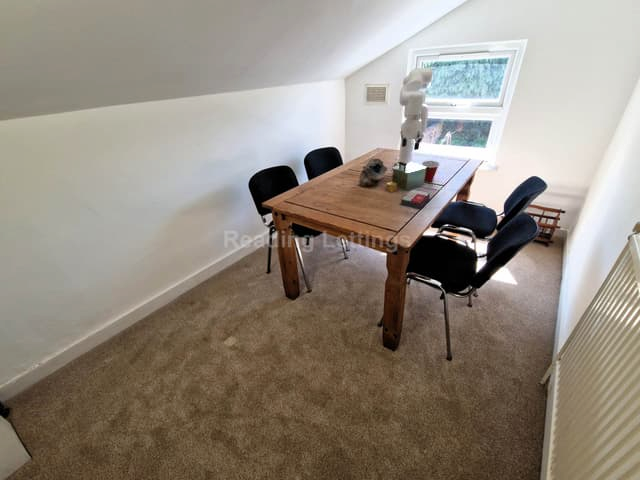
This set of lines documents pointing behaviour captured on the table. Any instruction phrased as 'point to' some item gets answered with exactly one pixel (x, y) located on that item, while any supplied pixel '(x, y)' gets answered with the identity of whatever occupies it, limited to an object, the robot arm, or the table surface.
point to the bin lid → (408, 167)
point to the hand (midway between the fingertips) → (409, 148)
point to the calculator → (415, 199)
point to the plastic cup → (430, 170)
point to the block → (391, 186)
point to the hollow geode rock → (372, 172)
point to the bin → (408, 179)
